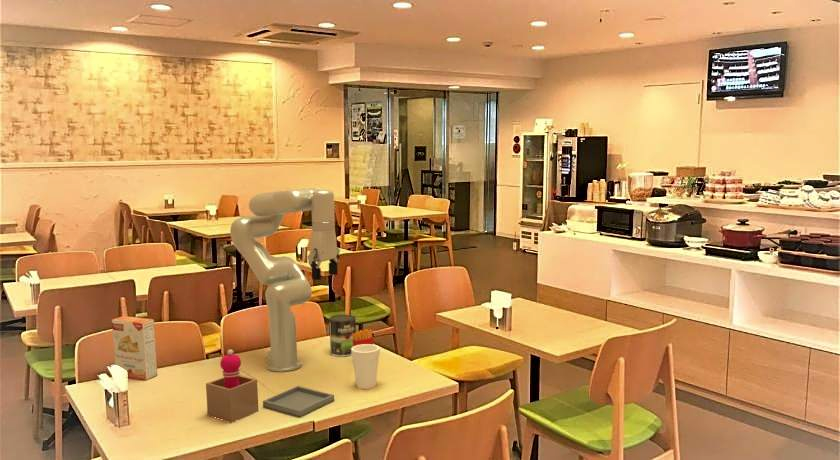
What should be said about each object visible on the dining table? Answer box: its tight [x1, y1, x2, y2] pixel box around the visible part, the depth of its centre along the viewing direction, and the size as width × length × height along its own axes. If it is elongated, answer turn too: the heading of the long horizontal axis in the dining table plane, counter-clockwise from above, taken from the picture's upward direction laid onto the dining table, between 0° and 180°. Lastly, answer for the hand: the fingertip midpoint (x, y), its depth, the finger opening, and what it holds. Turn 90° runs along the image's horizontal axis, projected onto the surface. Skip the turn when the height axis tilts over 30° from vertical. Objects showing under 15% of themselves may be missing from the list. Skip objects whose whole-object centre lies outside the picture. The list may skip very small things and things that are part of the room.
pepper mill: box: [220, 349, 242, 389], centre depth 206 cm, size 7×7×20 cm
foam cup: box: [350, 344, 381, 390], centre depth 228 cm, size 10×9×13 cm
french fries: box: [352, 328, 374, 346], centre depth 254 cm, size 8×4×12 cm, turn 128°
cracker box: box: [111, 315, 158, 381], centre depth 240 cm, size 14×6×21 cm, turn 68°
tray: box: [262, 385, 335, 418], centre depth 214 cm, size 16×16×2 cm
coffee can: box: [328, 314, 357, 358], centre depth 265 cm, size 10×10×14 cm
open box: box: [205, 374, 259, 424], centre depth 206 cm, size 11×11×10 cm
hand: (325, 277), depth 230 cm, fingers open, 9 cm apart
